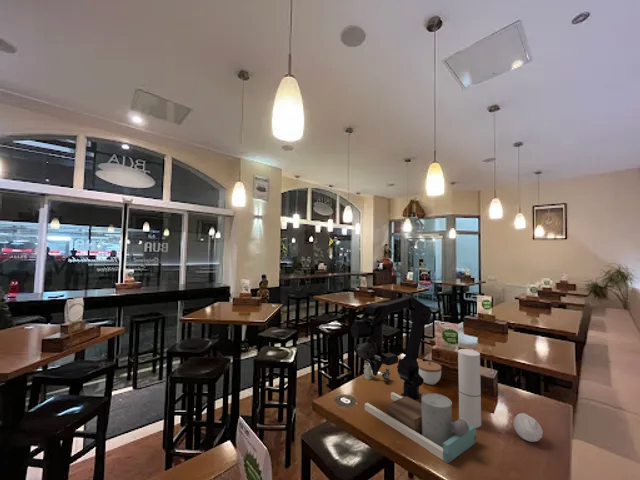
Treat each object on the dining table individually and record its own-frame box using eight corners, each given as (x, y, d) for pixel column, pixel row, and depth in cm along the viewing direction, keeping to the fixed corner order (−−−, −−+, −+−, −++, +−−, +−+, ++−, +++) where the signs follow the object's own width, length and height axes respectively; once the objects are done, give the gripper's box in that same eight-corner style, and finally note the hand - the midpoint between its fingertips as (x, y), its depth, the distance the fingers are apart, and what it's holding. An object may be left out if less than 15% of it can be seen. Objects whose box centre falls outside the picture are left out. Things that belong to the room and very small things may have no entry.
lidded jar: (413, 377, 142) (413, 358, 143) (434, 376, 143) (434, 357, 144) (424, 387, 132) (423, 366, 132) (446, 386, 133) (445, 365, 133)
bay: (393, 398, 122) (392, 376, 122) (480, 444, 92) (479, 415, 93) (364, 410, 112) (364, 386, 112) (452, 466, 83) (451, 434, 83)
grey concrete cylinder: (417, 429, 100) (416, 393, 101) (443, 428, 101) (443, 392, 101) (428, 447, 91) (428, 407, 91) (458, 446, 91) (457, 407, 92)
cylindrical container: (479, 418, 107) (477, 350, 108) (483, 429, 100) (481, 356, 101) (458, 414, 109) (457, 348, 110) (460, 425, 103) (459, 354, 104)
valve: (361, 379, 139) (385, 385, 133) (361, 365, 140) (385, 371, 134) (366, 374, 145) (390, 380, 139) (366, 361, 145) (390, 366, 139)
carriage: (406, 408, 113) (406, 395, 113) (433, 423, 103) (433, 409, 103) (387, 418, 106) (387, 404, 107) (414, 434, 97) (414, 419, 97)
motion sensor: (537, 450, 90) (536, 425, 90) (509, 437, 96) (509, 414, 96) (545, 440, 94) (545, 416, 95) (519, 429, 101) (518, 406, 101)
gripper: (345, 333, 118) (344, 372, 117) (379, 345, 103) (379, 389, 103) (364, 329, 125) (363, 366, 124) (399, 340, 110) (399, 382, 109)
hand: (374, 375), depth 115 cm, fingers closed
